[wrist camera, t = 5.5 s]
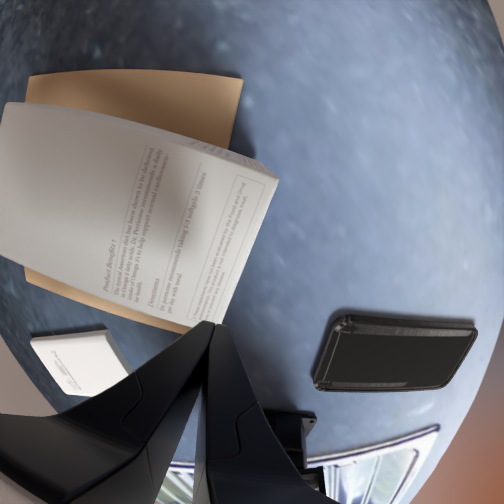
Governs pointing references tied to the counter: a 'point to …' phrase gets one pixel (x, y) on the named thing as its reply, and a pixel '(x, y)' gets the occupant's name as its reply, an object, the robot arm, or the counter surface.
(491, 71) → the counter surface
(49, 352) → the external hard drive
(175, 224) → the supplement box
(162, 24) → the counter surface
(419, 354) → the phone
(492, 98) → the counter surface
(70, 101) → the wooden cutting board
